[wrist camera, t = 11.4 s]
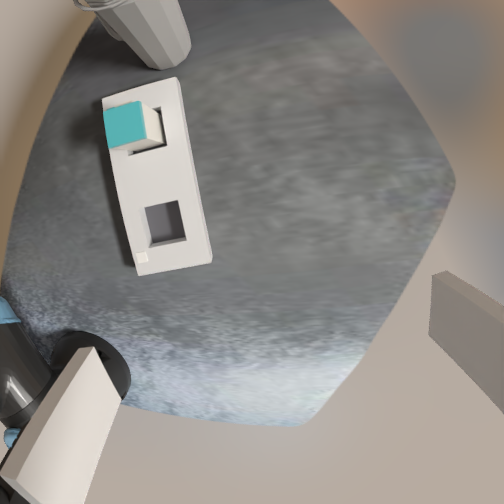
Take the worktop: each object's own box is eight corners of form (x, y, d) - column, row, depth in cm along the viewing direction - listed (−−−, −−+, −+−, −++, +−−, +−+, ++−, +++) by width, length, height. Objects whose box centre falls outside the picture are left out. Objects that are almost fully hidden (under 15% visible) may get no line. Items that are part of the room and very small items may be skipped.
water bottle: (196, 25, 33) (164, -96, 9) (188, 74, 35) (136, -29, 11) (133, 27, 32) (54, -69, 8) (124, 75, 34) (19, 1, 10)
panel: (144, 268, 42) (138, 276, 39) (110, 102, 35) (101, 98, 32) (212, 255, 42) (211, 262, 39) (179, 82, 35) (175, 76, 32)
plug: (137, 151, 37) (108, 148, 27) (131, 118, 36) (102, 106, 26) (165, 143, 37) (144, 137, 27) (160, 110, 36) (137, 94, 26)
